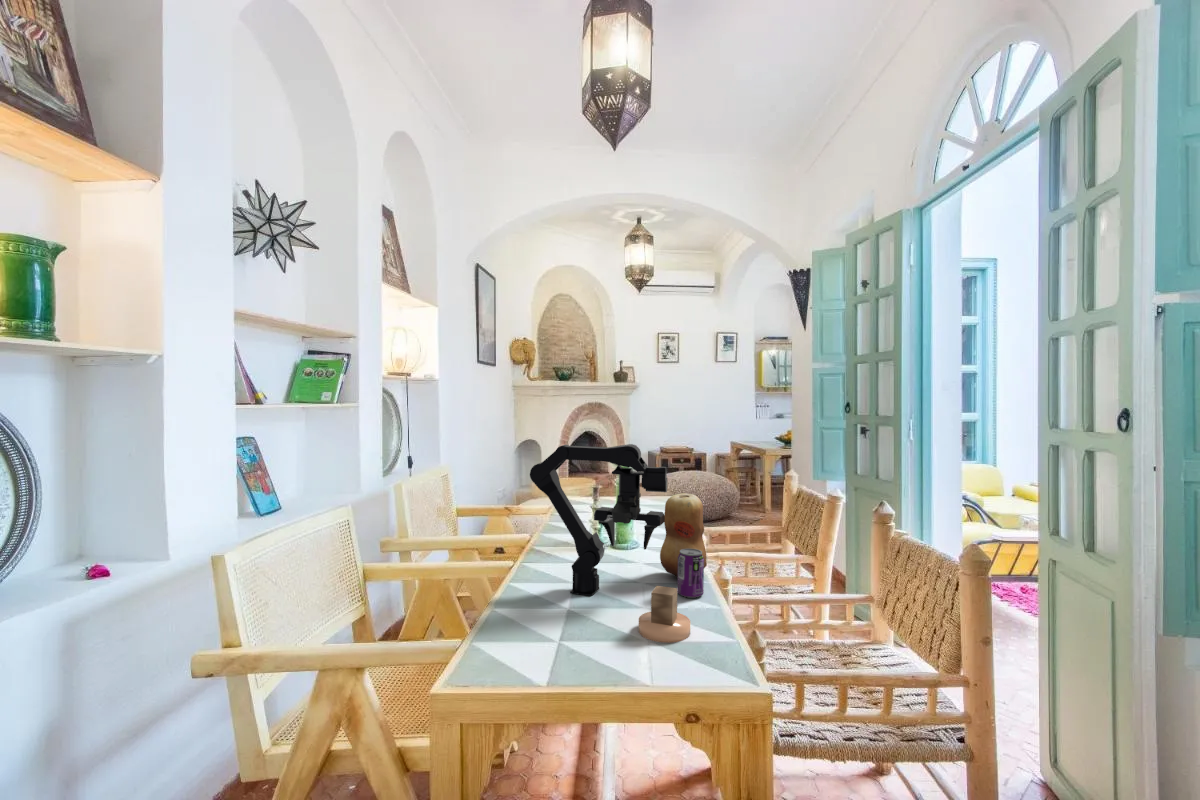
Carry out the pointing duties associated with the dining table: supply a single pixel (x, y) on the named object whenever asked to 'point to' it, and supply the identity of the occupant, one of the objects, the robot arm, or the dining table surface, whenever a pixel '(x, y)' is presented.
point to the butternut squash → (682, 529)
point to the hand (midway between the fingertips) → (628, 547)
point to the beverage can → (690, 573)
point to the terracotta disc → (664, 629)
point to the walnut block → (664, 605)
